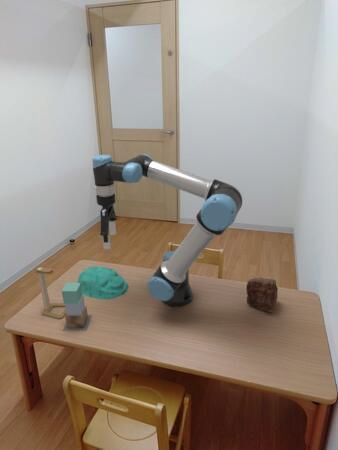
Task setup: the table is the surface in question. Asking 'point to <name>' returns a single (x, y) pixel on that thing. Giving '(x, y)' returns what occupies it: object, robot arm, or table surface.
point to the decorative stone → (102, 283)
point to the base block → (77, 320)
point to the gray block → (75, 308)
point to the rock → (262, 293)
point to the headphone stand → (47, 304)
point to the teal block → (72, 293)
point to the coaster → (79, 328)
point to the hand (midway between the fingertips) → (110, 241)
